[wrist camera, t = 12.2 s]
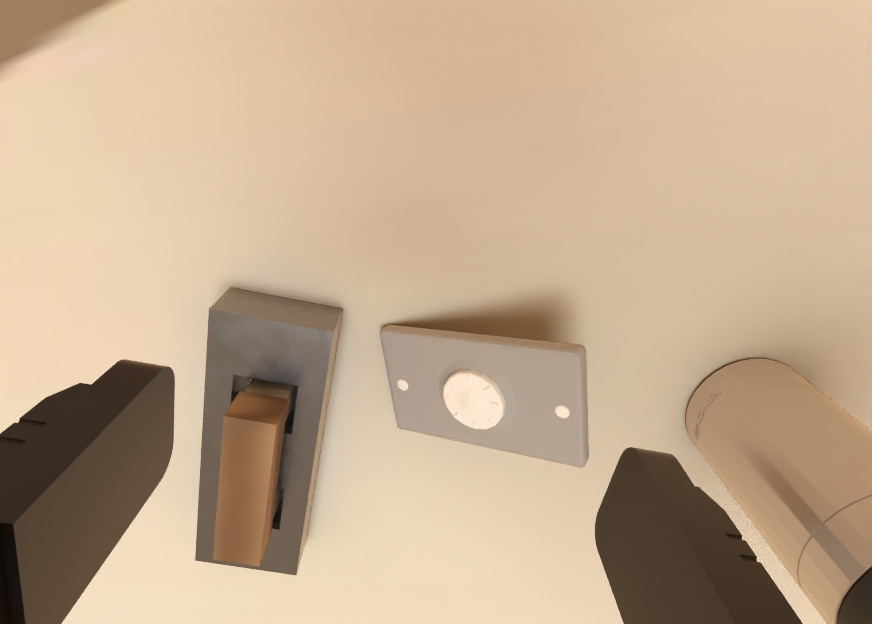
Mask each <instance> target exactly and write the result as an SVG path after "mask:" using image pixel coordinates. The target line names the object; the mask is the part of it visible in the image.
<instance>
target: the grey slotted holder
mask: <svg viewBox="0 0 872 624" xmlns="http://www.w3.org/2000/svg"><path fill="white" fill-rule="evenodd" d="M342 312H343V309H340V308H335V307H330V306H324V305H319V304H314V303H309V302H303V301H298V300H293V299H288V298H282V297H277V296H272V295H267V294H262V293H256V292H251V291H246V290H241V289H235V288H230V289H229V290H228V291H227V292H226V293H225V294H224V295H223V296H222V297H221V298H220V299H219V300H218V301H217V302H216V303H215V304H214V305H213V306H212V307H211V308H210V309H209V320H208V339H207V357H206V375H205V393H204V412H203V430H202V448H201V467H200V485H199V503H198V522H197V540H196V558H195V560H196V561H203V562H210V563H216V564H223V565H230V566H237V567H244V568H250V569H257V570H264V571H271V572H277V573H284V574H291V575H297V571H298V568H299V564H300V560H301V557H302V553H303V550H304V546H305V542H306V539H307V534H308V528H309V521H310V515H311V509H312V502H313V496H314V490H315V483H316V477H317V470H318V464H319V458H320V451H321V445H322V439H323V432H324V426H325V420H326V413H327V407H328V401H329V394H330V388H331V382H332V375H333V369H334V362H335V356H336V350H337V343H338V337H339V331H340V324H341V318H342ZM249 378H255V379H261V380H266V381H272V382H278V383H283V384H289V385H294V386H298V392H297V399H296V402H294V404H293V406H292V408H291V411H290V413H289V415H288V418H287V420H286V422H285V430H284V438H283V445H282V453H281V461H280V469H279V476H278V484H277V488H280V489H285V491H284V492H283V493H282V496H281V499H280V501H279V504H278V507H277V510H276V512H275V515H274V518H273V523H272V531H271V535H270V538H269V541H268V544H267V547H266V549H265V552H264V555H263V558H262V560H261V563H260V566H259V567H258V566H251V565H245V564H238V563H232V562H225V561H218V560H213V551H214V538H215V524H216V511H217V498H218V485H219V472H220V459H221V446H222V433H223V420H224V415H225V413H226V412H227V410H228V409H229V407H230V405H231V404H232V402H233V401H234V399H235V398H236V396H237V394H238V393H239V391H245V390H246V389H247V387H248V380H249Z"/></svg>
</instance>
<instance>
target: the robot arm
mask: <svg viewBox="0 0 872 624" xmlns="http://www.w3.org/2000/svg"><path fill="white" fill-rule="evenodd" d="M174 388H175V378H174V373H173V370H172V369H171V368H170V367H166V366H160V365H154V364H148V363H142V362H137V361H131V360H120V361H119V362H117V363H116V364H115V365H114V366H112V367H111V368H110V369H109V370H108V371H107V372H105V373H104V374H103V375H102V376H101V377H100V378H99V379H97V380H96V381H95V382H94V383H93V384H92V385H89V384H83V383H79V384H77V385H74V386H72V387H70V388H67V389H65V390H63V391H60V392H58V393H56V394H53V395H51V396H49V397H46V398H45V399H43V400H42V401H41V402H40V403H38V404H37V405H36V406H35V407H33V408H32V409H31V410H30V411H28V412H27V413H26V414H25V415H23V416H22V417H21V418H20V420H19V422H18V423H13V424H12V425H11V426H10V427H8V428H7V429H6V430H5V431H3V432H2V433H1V434H0V624H61V623H62V622H63V620H64V619H65V618H66V616H67V615H68V613H69V612H70V610H71V609H72V607H73V606H74V605H75V603H76V602H77V600H78V599H79V597H80V596H81V594H82V593H83V592H84V590H85V589H86V587H87V586H88V584H89V583H90V582H91V580H92V579H93V577H94V576H95V574H96V573H97V571H98V570H99V569H100V567H101V566H102V564H103V563H104V561H105V560H106V559H107V557H108V556H109V554H110V553H111V551H112V550H113V548H114V547H115V546H116V544H117V543H118V541H119V540H120V538H121V537H122V536H123V534H124V533H125V531H126V530H127V528H128V527H129V525H130V524H131V523H132V521H133V520H134V518H135V517H136V515H137V514H138V513H139V511H140V510H141V508H142V507H143V505H144V504H145V502H146V501H147V500H148V498H149V497H150V495H151V494H152V492H153V491H154V490H155V488H156V487H157V485H158V484H159V482H160V481H161V479H162V478H163V476H164V474H165V472H166V469H167V467H168V464H169V461H170V458H171V454H172V449H173V437H174ZM686 426H687V432H688V434H689V436H690V438H691V440H692V441H693V443H694V444H695V445H696V447H697V448H698V449H699V451H700V452H701V453H702V455H703V456H704V458H705V459H706V460H707V462H708V463H709V464H710V466H711V467H712V468H713V470H714V471H715V473H716V474H717V476H718V477H719V478H720V480H721V481H722V482H723V484H724V485H725V486H726V488H727V489H728V490H729V492H730V493H731V495H732V496H733V497H734V499H735V500H736V501H737V503H738V504H739V505H740V507H741V508H742V509H743V511H744V512H745V514H746V515H747V516H748V518H749V519H750V520H751V522H752V523H753V524H754V526H755V527H756V528H757V530H758V531H759V533H760V534H761V535H762V537H763V538H764V539H765V541H766V542H767V543H768V545H769V546H770V547H771V549H772V550H773V552H774V553H775V554H776V556H777V557H778V558H779V560H780V561H781V562H782V564H783V565H784V566H785V568H786V569H787V571H788V572H789V573H790V575H791V576H792V577H793V579H794V580H795V581H796V583H797V584H798V585H799V587H800V588H801V590H802V591H803V592H804V594H805V595H806V596H807V597H808V599H809V600H810V601H811V603H812V604H813V605H814V607H815V608H816V610H817V611H818V612H819V614H820V615H821V616H822V618H823V619H824V620H825V622H826V623H827V624H872V431H871V430H870V429H868V428H867V427H866V426H864V425H863V424H862V423H861V422H859V421H858V420H857V419H855V418H854V417H853V416H852V415H850V414H849V413H848V412H847V411H845V410H844V409H843V408H841V407H840V406H839V405H838V404H836V403H835V402H834V401H832V400H831V399H830V398H829V397H827V396H826V395H825V394H823V393H822V392H821V391H820V390H818V389H817V388H816V387H814V386H813V385H812V384H810V383H809V382H808V381H807V380H805V379H804V378H803V377H801V376H800V375H799V374H797V373H796V372H795V371H794V370H792V369H791V368H790V367H789V366H787V365H785V364H782V363H780V362H778V361H774V360H769V359H748V360H743V361H738V362H736V363H733V364H730V365H727V366H725V367H723V368H722V369H720V370H718V371H716V372H715V373H713V374H712V375H711V376H710V377H708V378H707V379H706V380H705V381H704V382H703V383H702V384H701V385H700V386H699V387H698V389H697V390H696V391H695V393H694V395H693V396H692V398H691V400H690V402H689V405H688V408H687V411H686ZM595 540H596V546H597V549H598V552H599V555H600V558H601V561H602V564H603V566H604V569H605V572H606V575H607V578H608V580H609V583H610V586H611V589H612V592H613V594H614V597H615V600H616V603H617V606H618V608H619V611H620V614H621V617H622V620H623V623H624V624H803V623H802V622H801V620H800V619H799V617H798V616H797V615H796V613H795V612H794V610H793V609H792V607H791V606H790V604H789V603H788V602H787V600H786V599H785V597H784V596H783V594H782V593H781V591H780V590H779V588H778V587H777V586H776V584H775V583H774V581H773V580H772V578H771V577H770V575H769V574H768V573H767V571H766V570H765V568H764V567H763V565H762V564H761V563H760V562H757V561H756V558H757V557H756V555H755V554H754V552H753V551H752V549H751V548H750V546H749V545H748V544H747V542H746V541H744V540H742V535H741V533H740V532H739V531H738V529H737V528H736V526H735V525H734V523H733V522H732V520H731V519H730V518H729V516H728V515H727V513H726V512H725V510H724V509H722V508H721V507H720V506H719V505H718V504H717V503H716V502H715V501H714V500H712V499H711V498H710V497H709V496H708V495H707V494H706V493H705V492H704V491H702V490H701V489H700V488H699V487H695V486H694V485H693V483H692V482H691V480H690V478H689V477H688V475H687V474H686V472H685V471H684V469H683V468H682V466H681V465H680V463H679V462H678V460H677V459H676V458H675V457H674V456H673V455H671V454H667V453H661V452H656V451H650V450H644V449H638V448H632V447H630V448H627V449H626V450H625V451H624V452H623V453H622V455H621V457H620V459H619V461H618V464H617V466H616V469H615V471H614V474H613V476H612V479H611V481H610V483H609V486H608V488H607V491H606V493H605V496H604V498H603V501H602V503H601V506H600V508H599V511H598V513H597V517H596V523H595Z"/></svg>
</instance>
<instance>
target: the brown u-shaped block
mask: <svg viewBox="0 0 872 624" xmlns="http://www.w3.org/2000/svg"><path fill="white" fill-rule="evenodd" d="M297 392H298V386H294V385H289V384H283V383H278V382H272V381H266V380H261V379H255V378H253V379H252V381H251V382H250V384H249V385H248V387H247V389H246V390H245V391H239V393H238V394H237V396H236V398H235V399H234V401H233V402H232V404H231V405H230V407H229V409H228V410H227V412H226V413H225V415H224V420H223V433H222V446H221V459H220V472H219V485H218V498H217V511H216V524H215V538H214V551H213V560H218V561H225V562H232V563H238V564H245V565H251V566H258V567H259V566H260V563H261V560H262V558H263V555H264V552H265V549H266V547H267V544H268V541H269V538H270V535H271V531H272V523H273V518H274V515H275V512H276V510H277V507H278V504H279V501H280V499H281V496H282V493H283V491H284V489H280V488H277V484H278V476H279V469H280V461H281V453H282V445H283V438H284V430H285V422H286V420H287V418H288V415H289V413H290V411H291V408H292V406H293V404H294V402H295V399H296V397H297Z"/></svg>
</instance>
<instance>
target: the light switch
mask: <svg viewBox="0 0 872 624" xmlns="http://www.w3.org/2000/svg"><path fill="white" fill-rule="evenodd" d="M380 337H381V342H382V348H383V353H384V358H385V363H386V369H387V374H388V379H389V384H390V390H391V395H392V400H393V406H394V411H395V416H396V421H397V426H398V428H400V429H404V430H408V431H413V432H418V433H422V434H427V435H432V436H436V437H441V438H446V439H450V440H455V441H460V442H464V443H469V444H474V445H478V446H483V447H487V448H492V449H497V450H501V451H506V452H511V453H515V454H520V455H525V456H529V457H534V458H539V459H543V460H548V461H553V462H557V463H562V464H567V465H571V466H576V467H584V466H585V464H586V462H587V460H588V457H589V446H588V409H587V373H586V349H585V347H584V346H582V345H579V344H569V343H560V342H550V341H541V340H531V339H522V338H512V337H503V336H493V335H484V334H474V333H465V332H455V331H446V330H436V329H427V328H417V327H408V326H398V325H387V326H386V327H384V328H383V329H382V330H381V331H380Z"/></svg>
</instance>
